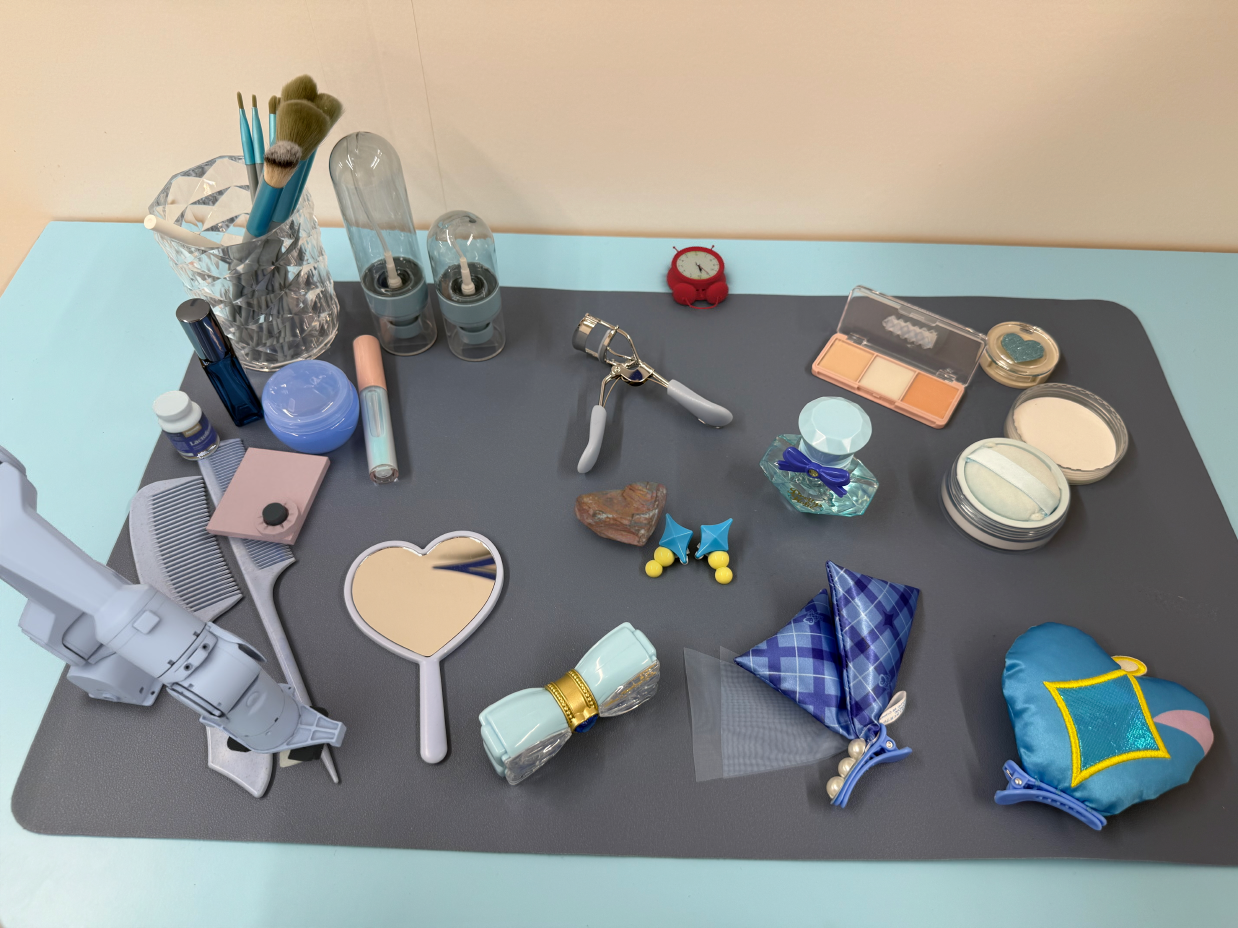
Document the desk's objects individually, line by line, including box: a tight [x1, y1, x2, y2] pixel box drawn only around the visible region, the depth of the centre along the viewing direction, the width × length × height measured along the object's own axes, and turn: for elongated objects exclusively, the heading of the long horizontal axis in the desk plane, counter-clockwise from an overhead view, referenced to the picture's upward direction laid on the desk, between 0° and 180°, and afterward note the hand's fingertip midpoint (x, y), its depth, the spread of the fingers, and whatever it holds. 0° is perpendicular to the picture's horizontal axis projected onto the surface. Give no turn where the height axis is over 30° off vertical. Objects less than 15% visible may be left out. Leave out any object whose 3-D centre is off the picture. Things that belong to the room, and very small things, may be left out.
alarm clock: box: [666, 244, 729, 310], centre depth 134 cm, size 10×6×15 cm
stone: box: [573, 480, 668, 547], centre depth 102 cm, size 13×8×10 cm
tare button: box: [262, 502, 287, 526], centre depth 103 cm, size 3×3×2 cm
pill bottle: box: [152, 390, 220, 461], centre depth 110 cm, size 6×6×10 cm
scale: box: [205, 446, 331, 546], centre depth 108 cm, size 14×12×3 cm
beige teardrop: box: [279, 749, 303, 768], centre depth 86 cm, size 4×5×2 cm
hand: (299, 746), depth 86 cm, fingers closed on beige teardrop, 4 cm apart
